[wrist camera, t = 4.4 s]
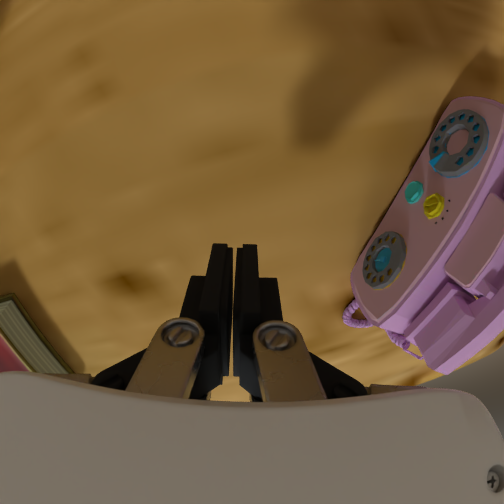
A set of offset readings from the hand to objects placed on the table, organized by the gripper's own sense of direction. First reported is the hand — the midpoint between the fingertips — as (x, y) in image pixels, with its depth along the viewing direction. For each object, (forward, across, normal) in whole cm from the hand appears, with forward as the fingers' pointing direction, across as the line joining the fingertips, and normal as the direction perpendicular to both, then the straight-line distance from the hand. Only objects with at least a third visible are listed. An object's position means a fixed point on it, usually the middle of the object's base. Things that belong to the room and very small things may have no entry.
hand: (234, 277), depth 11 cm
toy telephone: (+6, -11, 0) cm, 13 cm away
